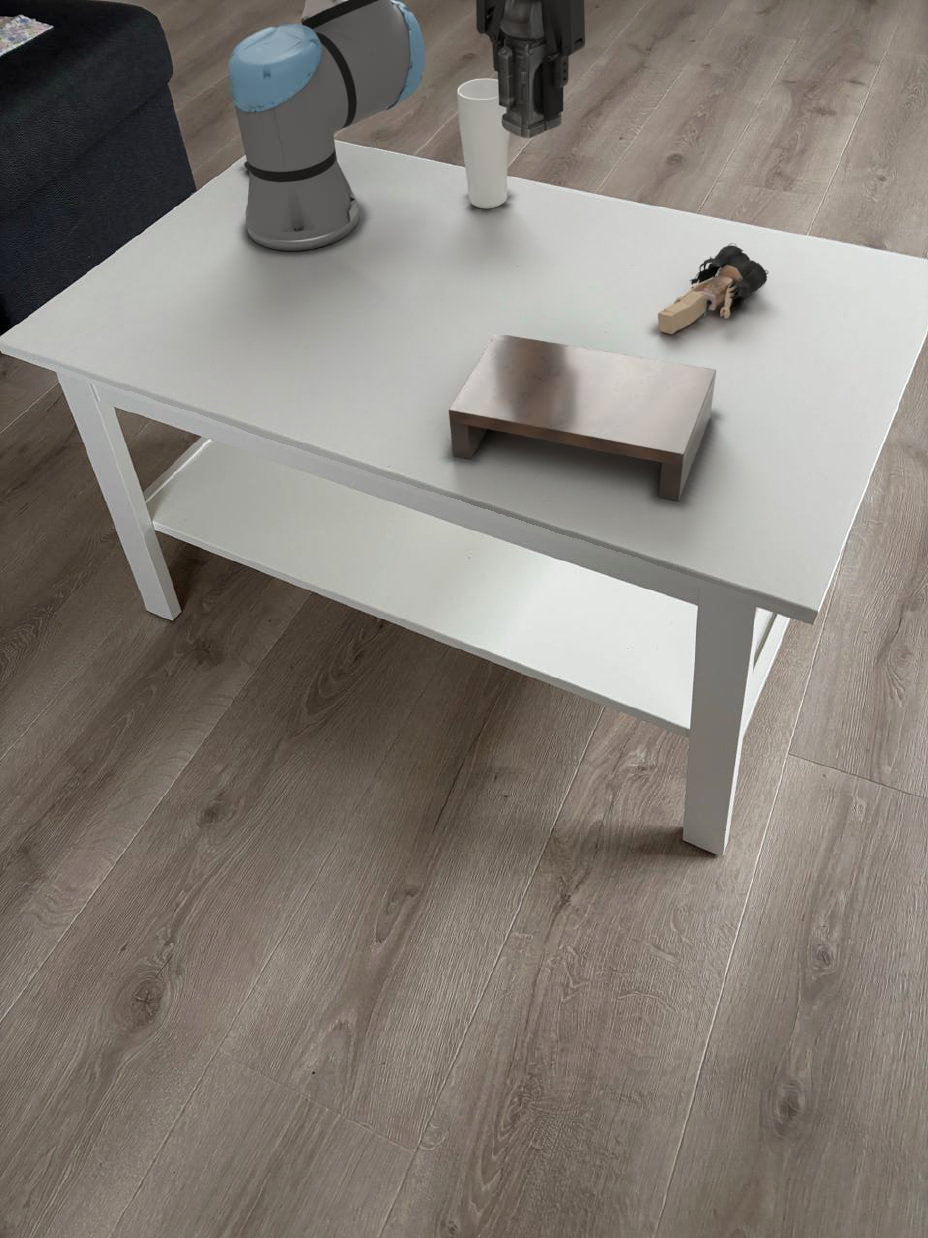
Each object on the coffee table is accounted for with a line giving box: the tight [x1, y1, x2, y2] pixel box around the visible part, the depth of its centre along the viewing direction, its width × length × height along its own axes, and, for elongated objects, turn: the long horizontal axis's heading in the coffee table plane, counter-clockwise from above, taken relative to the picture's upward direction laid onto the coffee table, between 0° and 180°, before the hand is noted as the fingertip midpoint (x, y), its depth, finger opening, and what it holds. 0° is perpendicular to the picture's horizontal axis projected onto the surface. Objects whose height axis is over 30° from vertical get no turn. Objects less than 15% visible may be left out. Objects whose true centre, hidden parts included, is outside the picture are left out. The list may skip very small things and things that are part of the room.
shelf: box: [448, 332, 717, 502], centre depth 112 cm, size 24×14×6 cm, turn 69°
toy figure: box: [657, 242, 770, 335], centre depth 127 cm, size 7×6×15 cm
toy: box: [498, 0, 563, 139], centre depth 120 cm, size 8×6×15 cm
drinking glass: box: [456, 77, 511, 209], centre depth 144 cm, size 7×7×15 cm
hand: (530, 107), depth 124 cm, fingers closed on toy, 6 cm apart
